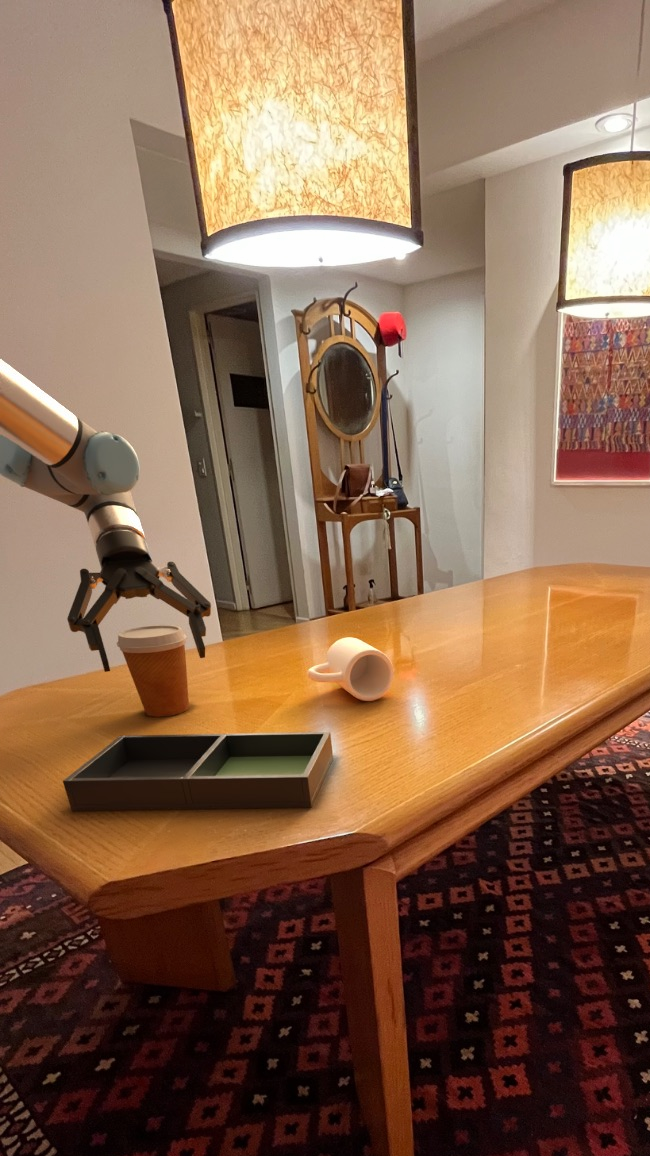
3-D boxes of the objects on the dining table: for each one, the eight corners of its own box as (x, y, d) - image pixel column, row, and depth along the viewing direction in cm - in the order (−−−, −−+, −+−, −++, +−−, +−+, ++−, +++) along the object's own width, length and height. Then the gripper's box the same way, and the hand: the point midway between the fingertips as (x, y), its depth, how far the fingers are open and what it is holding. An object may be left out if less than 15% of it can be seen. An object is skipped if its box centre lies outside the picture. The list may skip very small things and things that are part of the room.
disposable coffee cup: (212, 701, 106) (197, 625, 101) (177, 722, 98) (159, 639, 92) (159, 699, 108) (142, 623, 103) (120, 718, 100) (99, 637, 94)
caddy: (71, 811, 73) (62, 780, 71) (127, 762, 85) (120, 735, 83) (311, 807, 72) (307, 777, 70) (333, 758, 84) (330, 731, 82)
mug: (372, 681, 114) (369, 634, 110) (396, 696, 106) (392, 646, 102) (303, 692, 109) (297, 643, 106) (322, 709, 101) (316, 657, 98)
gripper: (202, 554, 114) (238, 660, 109) (36, 568, 104) (67, 686, 99) (202, 522, 108) (240, 634, 103) (25, 533, 97) (58, 658, 92)
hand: (156, 659), depth 101 cm, fingers open, 13 cm apart
